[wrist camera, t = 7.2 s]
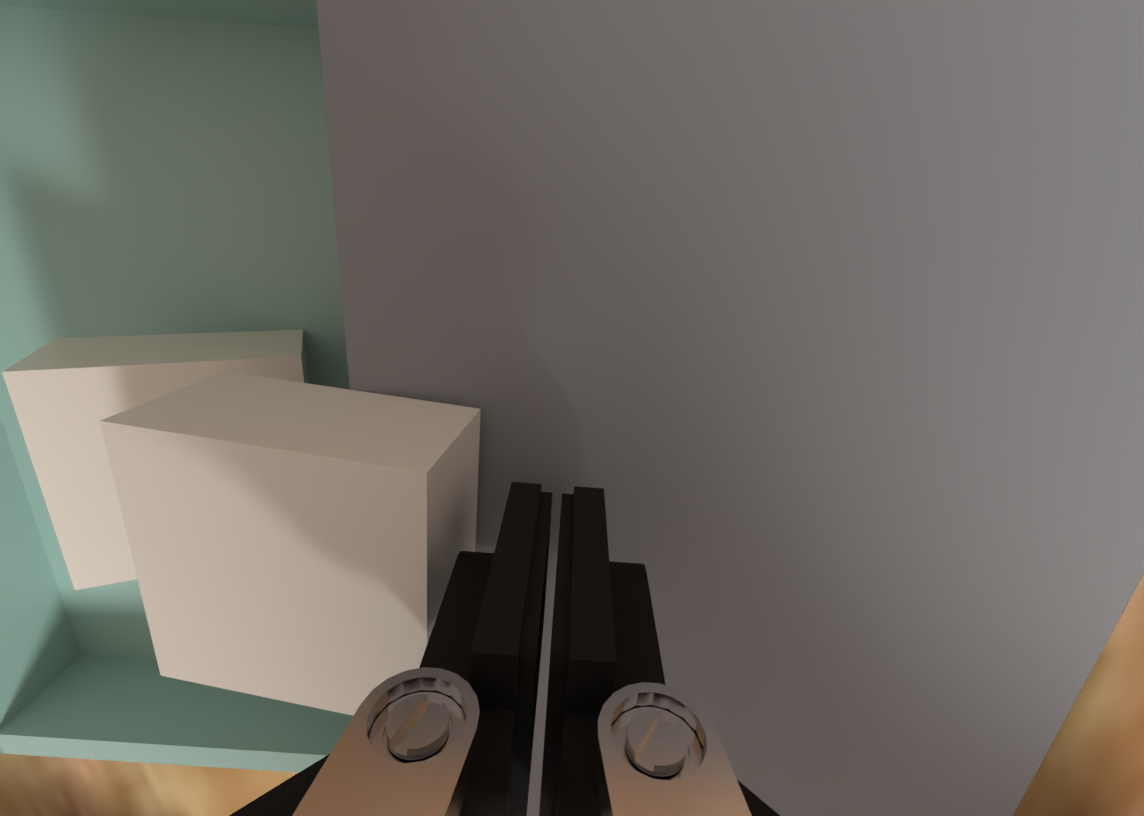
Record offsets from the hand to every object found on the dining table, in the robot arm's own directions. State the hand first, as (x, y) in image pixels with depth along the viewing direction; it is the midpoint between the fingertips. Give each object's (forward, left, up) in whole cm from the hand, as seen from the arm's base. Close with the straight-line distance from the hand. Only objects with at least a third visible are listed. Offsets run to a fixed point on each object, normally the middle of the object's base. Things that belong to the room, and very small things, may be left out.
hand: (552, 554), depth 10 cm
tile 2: (+4, 0, -1) cm, 4 cm away
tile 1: (+8, 0, -2) cm, 8 cm away
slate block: (-4, 0, -6) cm, 7 cm away
